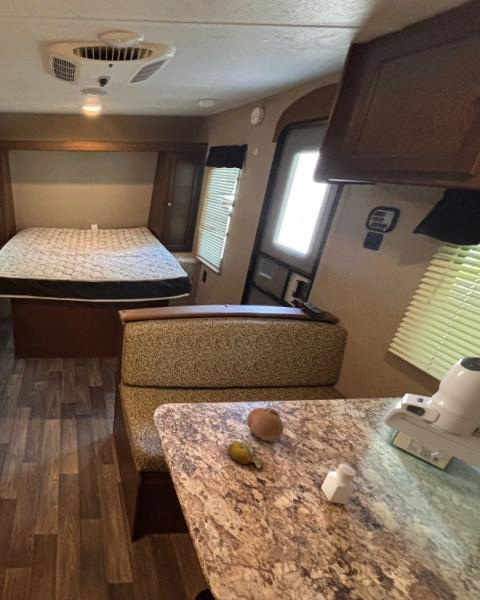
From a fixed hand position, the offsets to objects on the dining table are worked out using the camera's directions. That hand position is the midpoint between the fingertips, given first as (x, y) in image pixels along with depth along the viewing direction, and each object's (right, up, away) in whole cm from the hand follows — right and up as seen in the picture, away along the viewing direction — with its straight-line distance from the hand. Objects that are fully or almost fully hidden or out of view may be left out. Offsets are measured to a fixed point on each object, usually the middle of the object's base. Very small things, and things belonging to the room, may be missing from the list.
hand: (424, 456), depth 84 cm
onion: (-37, +1, +12) cm, 39 cm away
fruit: (-46, -2, +4) cm, 46 cm away
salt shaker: (-29, -7, -6) cm, 31 cm away
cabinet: (+11, -2, +11) cm, 15 cm away
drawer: (+7, -2, +8) cm, 11 cm away
